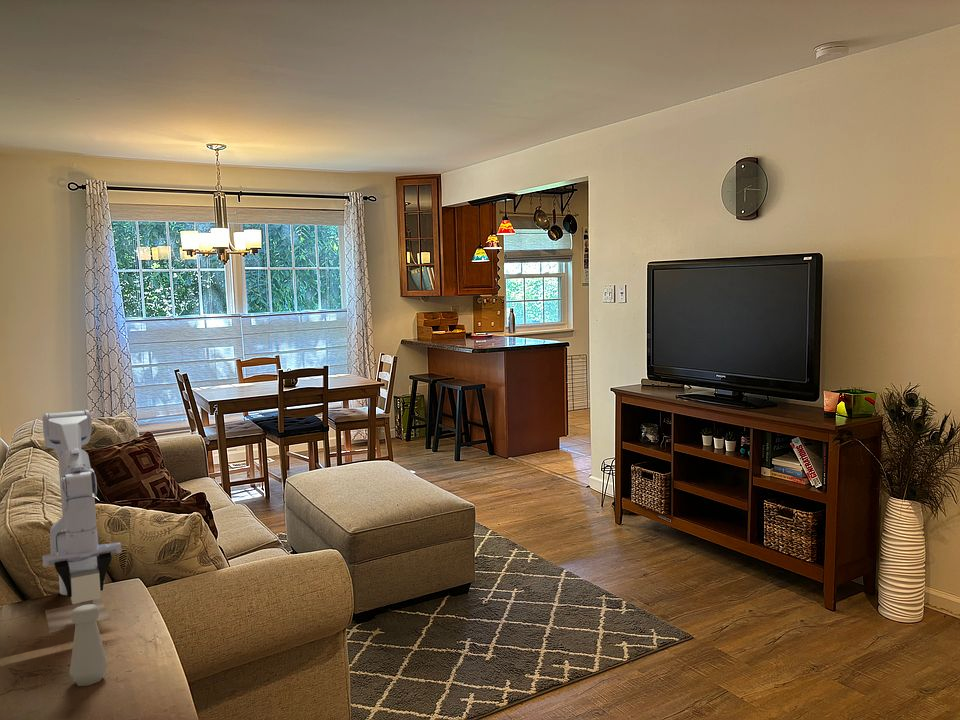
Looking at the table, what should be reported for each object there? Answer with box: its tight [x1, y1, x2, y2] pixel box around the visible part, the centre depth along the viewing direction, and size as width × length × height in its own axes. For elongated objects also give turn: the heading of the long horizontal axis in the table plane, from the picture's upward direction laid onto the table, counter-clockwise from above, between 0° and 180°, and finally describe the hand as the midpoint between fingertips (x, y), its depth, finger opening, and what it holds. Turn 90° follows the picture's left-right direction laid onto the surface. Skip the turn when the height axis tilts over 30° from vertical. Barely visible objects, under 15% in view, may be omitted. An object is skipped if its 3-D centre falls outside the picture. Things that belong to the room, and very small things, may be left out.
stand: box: [44, 598, 111, 634], centre depth 156 cm, size 16×11×5 cm
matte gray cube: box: [69, 565, 102, 605], centre depth 153 cm, size 5×5×6 cm
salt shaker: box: [68, 604, 108, 687], centre depth 126 cm, size 6×6×13 cm
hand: (85, 592), depth 153 cm, fingers closed on matte gray cube, 5 cm apart
